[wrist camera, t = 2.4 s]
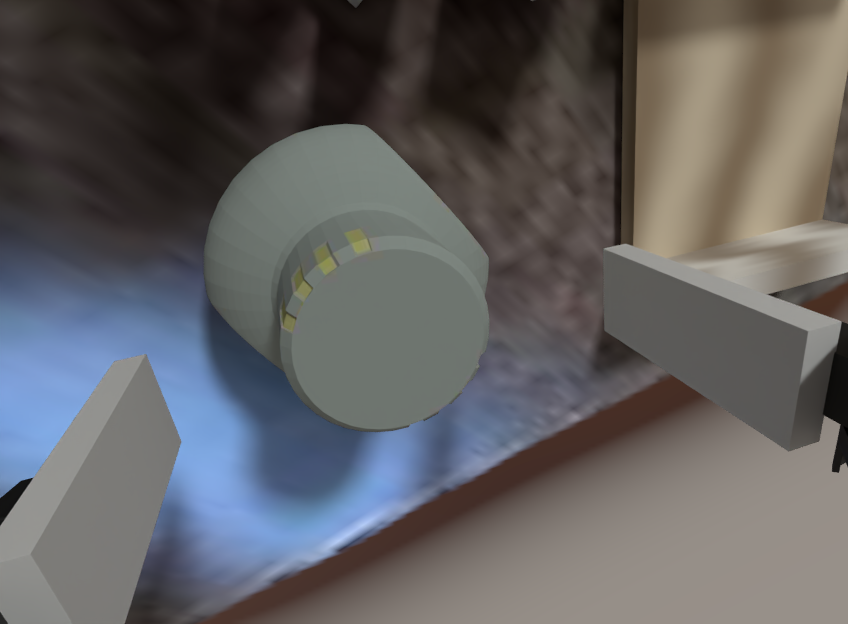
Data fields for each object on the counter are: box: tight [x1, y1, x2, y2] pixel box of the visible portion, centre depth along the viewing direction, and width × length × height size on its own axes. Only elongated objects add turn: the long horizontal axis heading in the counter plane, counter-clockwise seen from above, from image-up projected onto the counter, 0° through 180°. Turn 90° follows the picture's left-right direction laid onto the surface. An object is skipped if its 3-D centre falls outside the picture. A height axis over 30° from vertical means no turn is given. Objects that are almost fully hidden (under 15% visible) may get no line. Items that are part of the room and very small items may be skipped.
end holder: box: [621, 0, 848, 294], centre depth 23 cm, size 12×17×5 cm
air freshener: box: [204, 124, 489, 432], centre depth 18 cm, size 11×8×10 cm
